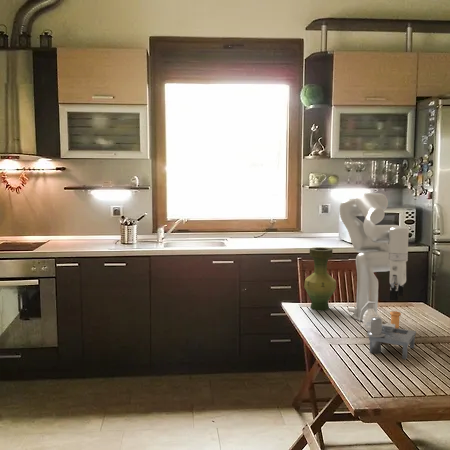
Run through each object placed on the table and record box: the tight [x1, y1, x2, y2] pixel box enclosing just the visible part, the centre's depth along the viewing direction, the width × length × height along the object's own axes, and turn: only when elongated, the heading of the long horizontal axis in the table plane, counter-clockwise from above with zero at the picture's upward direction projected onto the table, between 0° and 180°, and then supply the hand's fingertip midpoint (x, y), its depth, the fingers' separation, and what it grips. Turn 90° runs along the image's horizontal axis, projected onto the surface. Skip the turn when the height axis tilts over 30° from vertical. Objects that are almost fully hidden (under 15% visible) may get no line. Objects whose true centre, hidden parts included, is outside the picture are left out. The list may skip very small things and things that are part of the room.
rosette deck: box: [366, 317, 417, 360], centre depth 192 cm, size 18×17×13 cm
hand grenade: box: [358, 302, 378, 332], centre depth 214 cm, size 8×6×13 cm
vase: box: [303, 246, 337, 312], centre depth 249 cm, size 16×16×30 cm
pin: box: [389, 310, 402, 328], centre depth 208 cm, size 4×4×10 cm
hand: (396, 297), depth 206 cm, fingers open, 9 cm apart
